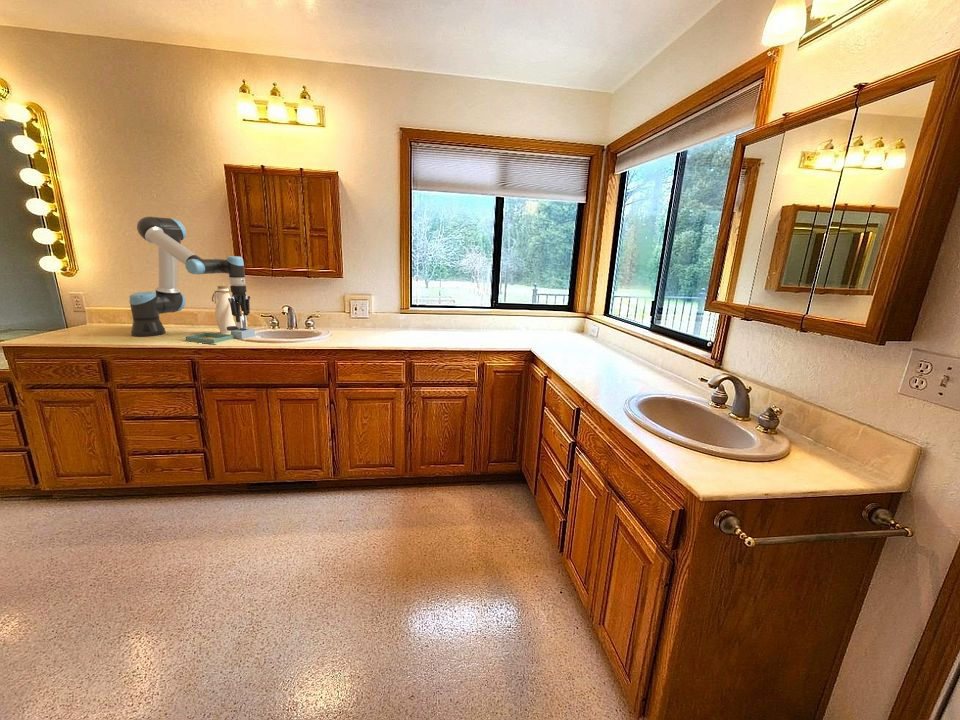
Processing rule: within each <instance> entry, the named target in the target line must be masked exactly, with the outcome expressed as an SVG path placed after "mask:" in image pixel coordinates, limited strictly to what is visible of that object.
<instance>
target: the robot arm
mask: <svg viewBox="0 0 960 720" xmlns="http://www.w3.org/2000/svg"><path fill="white" fill-rule="evenodd" d="M136 230H137V232H138V235H139V236H140V237H141V238H143V239H144V241H147V242H148V243H150V244H154V245H155V246H157V247H158V249H157V251H158V252H157V253H158V286H157V287H156V288H155V291H140V292H133V293H132V294H130V295H129V305H130V310H131V311H130V312H131V317H132V321H133V322H132V326H131V330H130V334H131V336H133V337H153V336H161V335H165V334H166V329H165V327H164V325H163V324H162V321H161V320H160V319H161V318H160V315H161V314H171V313H177V312H180V311H182V310H183V309H184V307H185V306H186V298H185V295H184V294H183V293H182V292H181V290H180V289H179V288H178V261H179V262H180V263H182V264H183V265H184V266H185V270H186V271H187V273H188V274H191V275H206V274H209V275H211V274H212V275H213V274H228V277H229V278H228V279H229V285H230V287H229V288H230V289H229V290H230V292H231V296H230V297H231V298H228V300H229V302H230V307H231V312H232V315H233V317H235V323H236V326H237V328H239V329H240V328H243V326H242V317H241V316H240V311H244V317H245V326H246V328H248V316H249V315H250V312H251V311H250V310H251V309H250V308H251V307H250V299H251V296H250V295H249V296H248V295H247V294H246V293H247V286H246V274H245V263H244V259H243V257H242V256H236V255H234V256H233V255H232V256H231V255H227V257H226V259H223V258H211V259H209V258H207V259H206V258H205V259H204V258H201V257H200V256H198V255H197V254H195V252H193V251H191V250H190V249H188V247H185V246H183V244H181V243H182V242H181V241H184V240H185V238H186V237H187V230H186V228H185V226H184V225H183V223H182V222H181V221H179V220H178V219H175V218H170V217H159V216H144V217H142V218H140V219H139V221H138V222H137V224H136Z"/></svg>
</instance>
